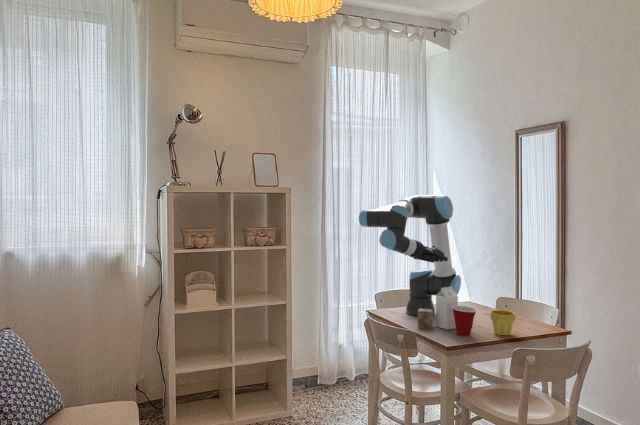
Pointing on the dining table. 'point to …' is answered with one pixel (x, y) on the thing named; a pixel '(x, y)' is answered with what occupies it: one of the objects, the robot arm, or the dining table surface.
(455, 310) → the plastic cup
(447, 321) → the milk carton
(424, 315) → the walnut block
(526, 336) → the dining table surface
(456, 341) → the dining table surface
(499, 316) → the plant pot
